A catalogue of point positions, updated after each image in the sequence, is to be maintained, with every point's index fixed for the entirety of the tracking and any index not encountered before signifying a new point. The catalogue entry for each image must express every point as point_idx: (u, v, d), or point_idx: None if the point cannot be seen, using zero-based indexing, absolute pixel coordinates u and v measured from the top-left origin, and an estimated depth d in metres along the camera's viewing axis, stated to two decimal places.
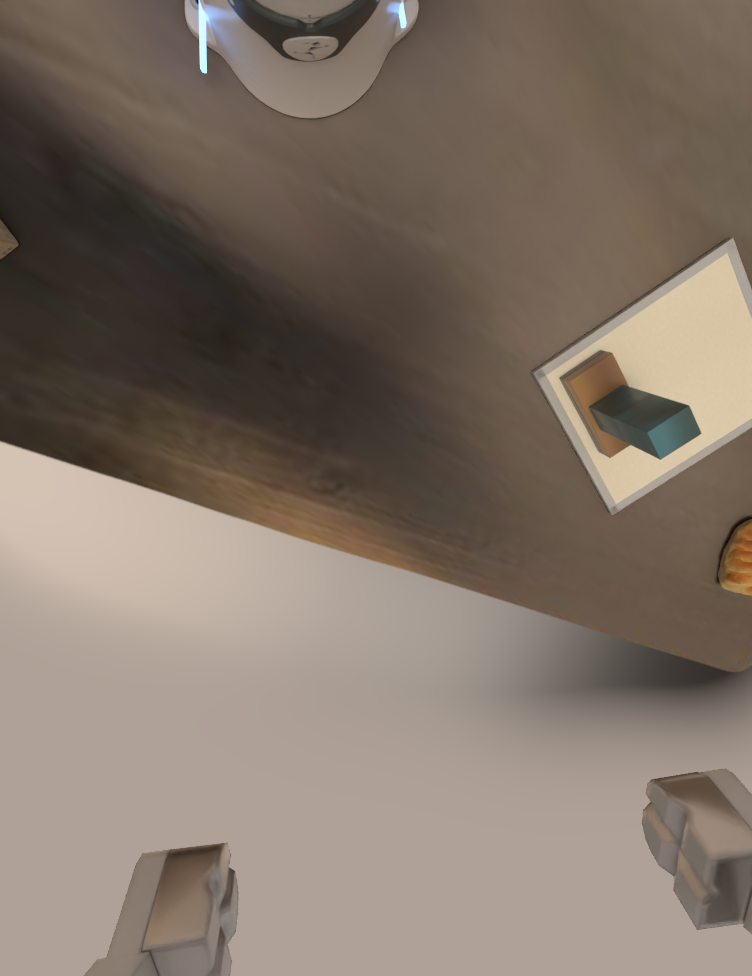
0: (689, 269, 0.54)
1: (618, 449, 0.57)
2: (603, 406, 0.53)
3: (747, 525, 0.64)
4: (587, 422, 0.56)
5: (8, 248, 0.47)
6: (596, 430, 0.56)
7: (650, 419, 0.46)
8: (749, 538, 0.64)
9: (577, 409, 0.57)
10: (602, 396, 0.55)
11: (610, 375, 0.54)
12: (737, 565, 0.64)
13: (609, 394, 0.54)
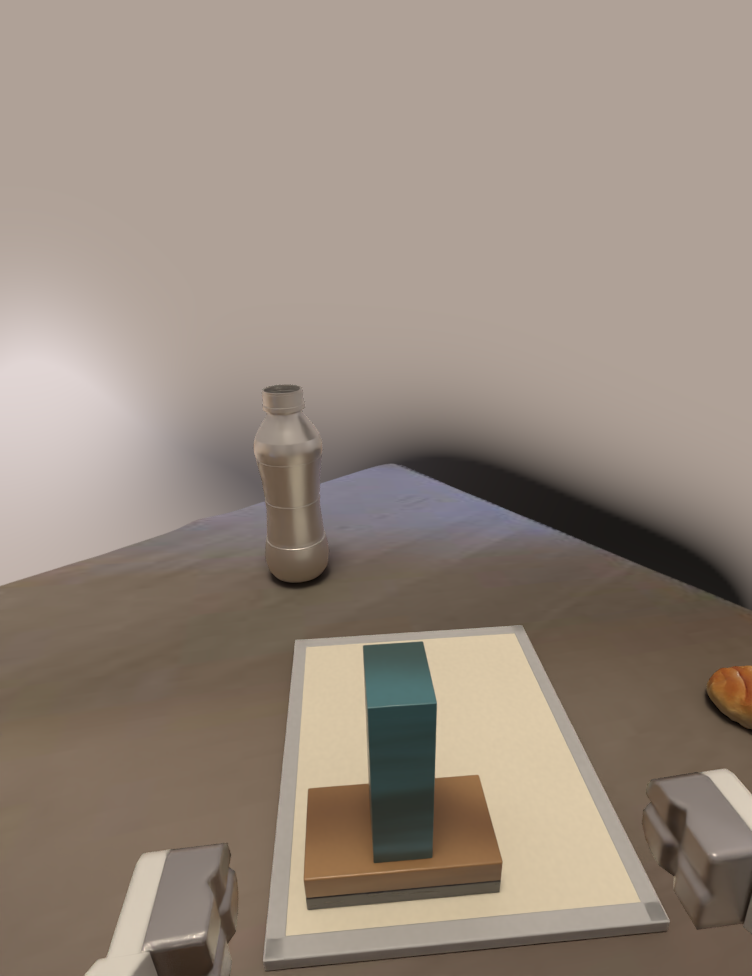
0: (293, 681, 0.42)
1: (489, 839, 0.28)
2: None
3: (716, 695, 0.39)
4: (413, 882, 0.27)
5: None
6: (429, 866, 0.27)
7: None
8: (740, 694, 0.38)
9: (384, 896, 0.27)
10: (369, 830, 0.29)
11: (342, 804, 0.30)
12: None
13: (370, 815, 0.29)
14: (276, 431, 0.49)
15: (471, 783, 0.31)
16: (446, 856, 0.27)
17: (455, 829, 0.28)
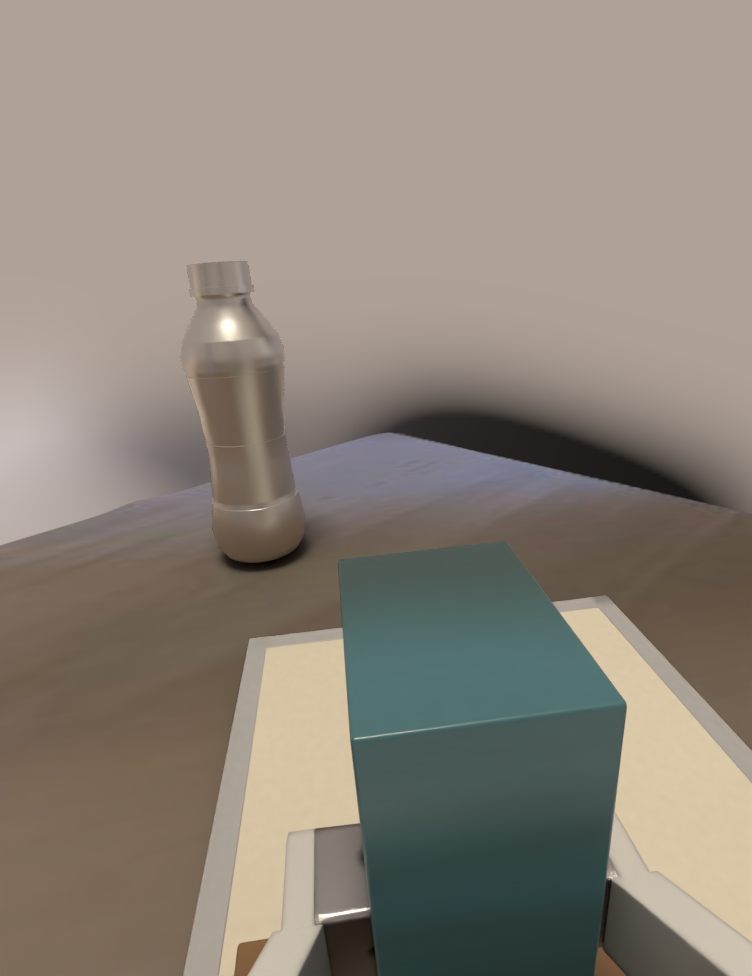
0: (240, 704, 0.24)
1: None
2: None
3: None
4: None
5: None
6: None
7: None
8: None
9: None
10: None
11: None
12: None
13: None
14: (210, 323, 0.32)
15: None
16: None
17: None
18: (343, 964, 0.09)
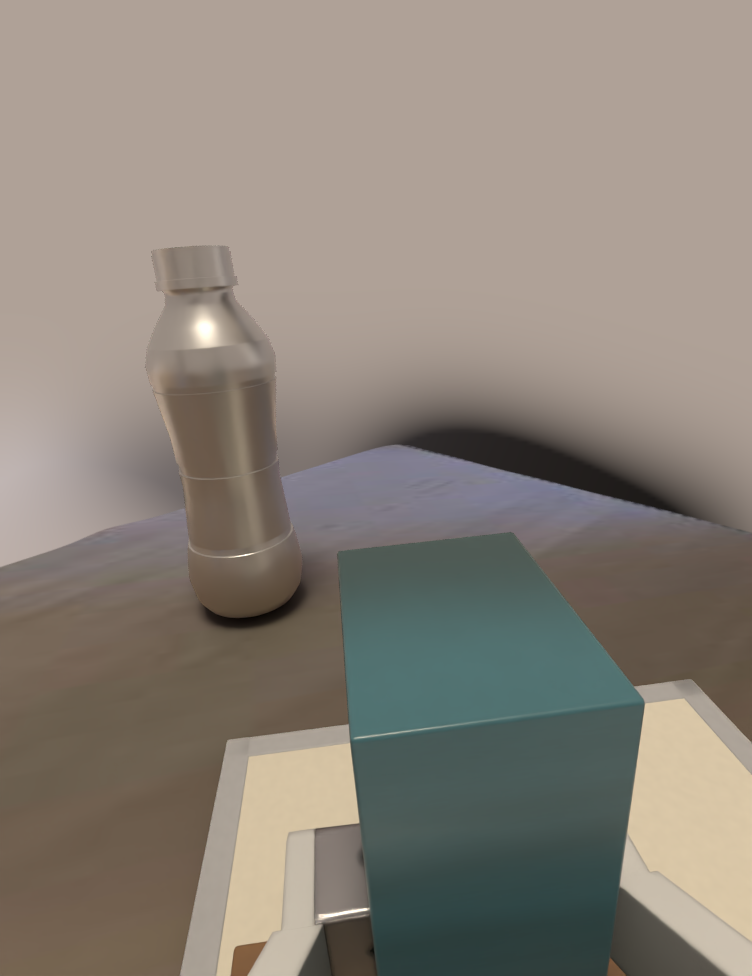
0: (208, 858, 0.17)
1: None
2: None
3: None
4: None
5: None
6: None
7: None
8: None
9: None
10: None
11: None
12: None
13: None
14: (180, 325, 0.25)
15: None
16: None
17: None
18: (343, 964, 0.09)
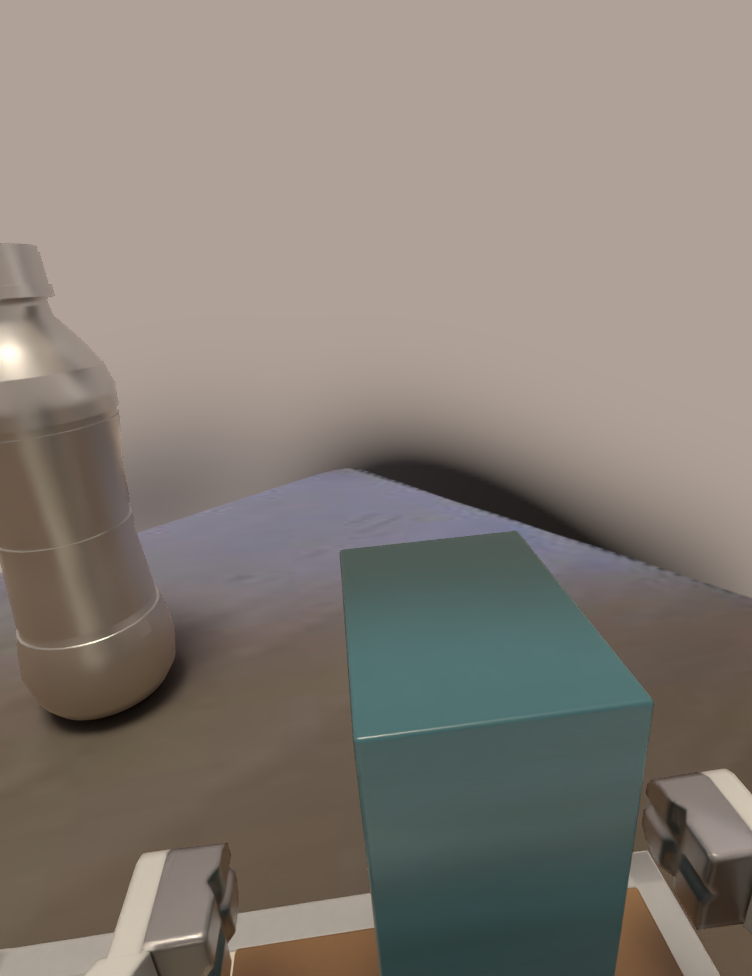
0: None
1: None
2: None
3: None
4: None
5: None
6: None
7: None
8: None
9: None
10: None
11: None
12: None
13: None
14: None
15: (627, 913, 0.13)
16: None
17: None
18: None
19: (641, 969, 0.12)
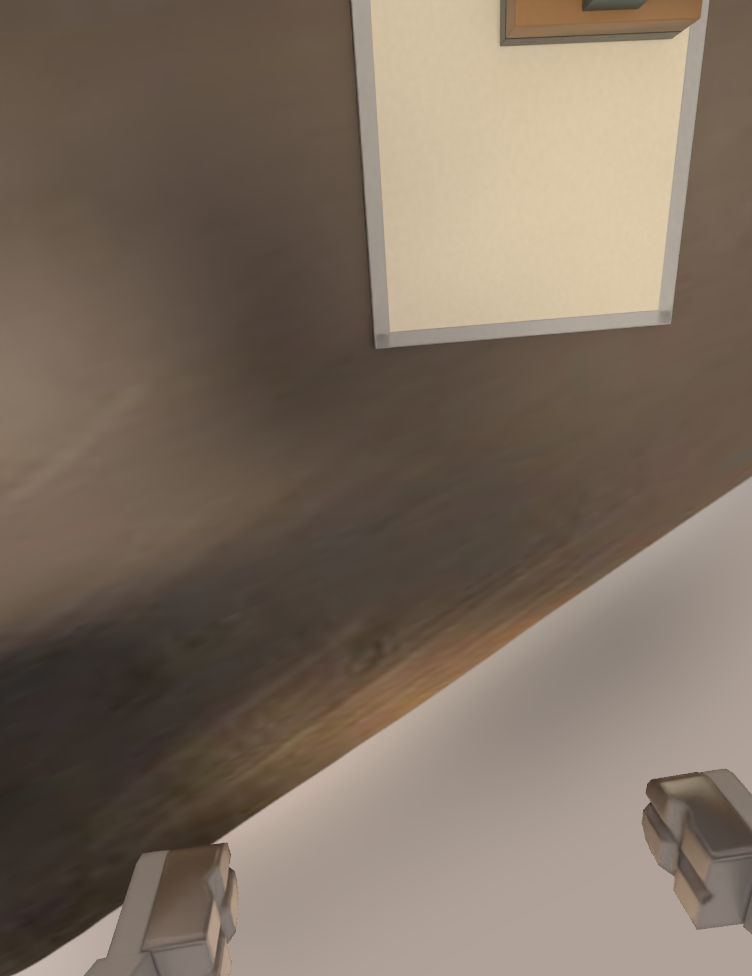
0: None
1: None
2: None
3: None
4: (607, 30, 0.29)
5: None
6: (633, 18, 0.28)
7: None
8: None
9: (573, 39, 0.29)
10: None
11: None
12: None
13: None
14: None
15: None
16: (651, 7, 0.28)
17: None
18: None
19: None
